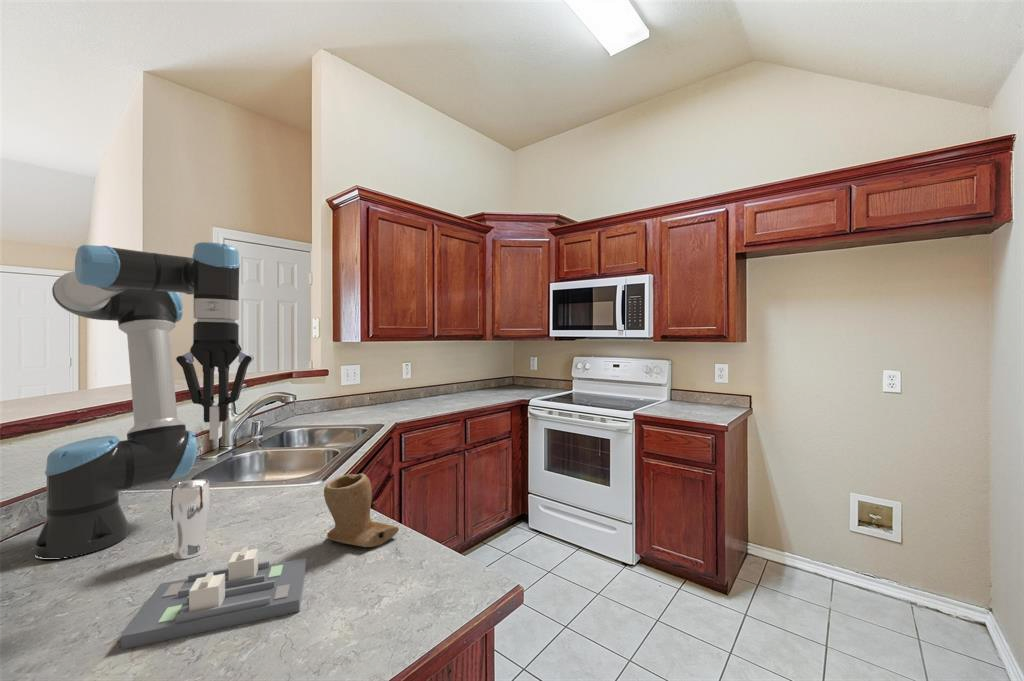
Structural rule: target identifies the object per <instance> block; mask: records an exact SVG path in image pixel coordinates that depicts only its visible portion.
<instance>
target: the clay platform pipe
mask: <svg viewBox="0 0 1024 681" xmlns="http://www.w3.org/2000/svg"><path fill="white" fill-rule="evenodd" d="M372 490H373V489H372V483H371V480H370V478H369V477H368V476H367V475H366V473H365V474H364V473H358V474H353V473H347V474H344V475H340V476H337V477H336V478H334V479H331V481H329V482H328V483H326V484H325V487H324V488H323V491H324V492H323V496H324V500H325V504H326V506H327V509H328V511H329V513H330V515H331V516H332V518H333V521H334V527H333V528H331V530H329V531H328V532H327V534H326V537H327V538H328V539H329V540H331V541H332V542H333V541H334V542H337V543H341V544H345V545H350V546H351V545H352V546H357V547H363V548H372V547H378V546H381V545H383V544H385V543H386V542H388V541H389V540H390V539H392V538H393V537H395V535H397V533H398V532H399V531H400V528H399V526H395V525H391V524H387V523H383V522H382V523H381V522H378V521H372V519H371V508H372V506H371V505H372V497H373V495H372V494H373V493H372V492H373V491H372Z"/></svg>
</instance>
